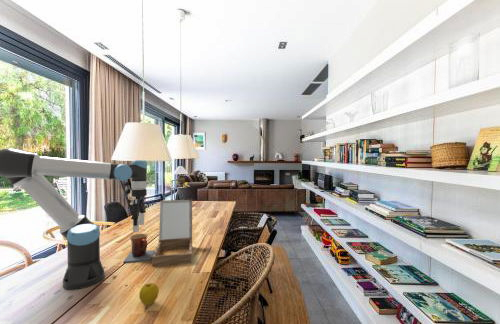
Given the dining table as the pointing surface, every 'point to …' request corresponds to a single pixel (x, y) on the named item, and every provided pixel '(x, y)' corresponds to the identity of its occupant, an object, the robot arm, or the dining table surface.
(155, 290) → the apple
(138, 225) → the robot arm
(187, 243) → the shallow wooden tray
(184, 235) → the lid
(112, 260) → the dining table surface
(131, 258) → the slate mat
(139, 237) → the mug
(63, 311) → the dining table surface
